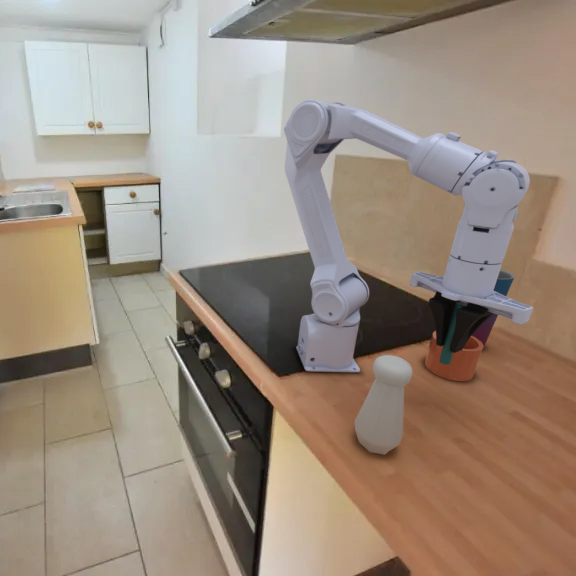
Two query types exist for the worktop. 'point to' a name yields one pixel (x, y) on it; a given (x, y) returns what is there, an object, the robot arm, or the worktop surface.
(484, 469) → the worktop surface
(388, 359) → the salt shaker
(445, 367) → the orange round pot
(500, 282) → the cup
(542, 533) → the worktop surface
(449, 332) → the straw
